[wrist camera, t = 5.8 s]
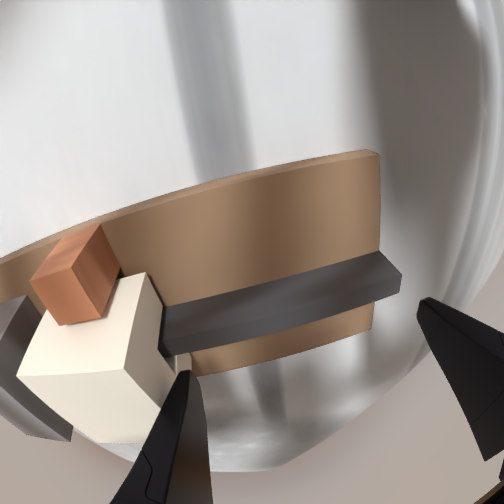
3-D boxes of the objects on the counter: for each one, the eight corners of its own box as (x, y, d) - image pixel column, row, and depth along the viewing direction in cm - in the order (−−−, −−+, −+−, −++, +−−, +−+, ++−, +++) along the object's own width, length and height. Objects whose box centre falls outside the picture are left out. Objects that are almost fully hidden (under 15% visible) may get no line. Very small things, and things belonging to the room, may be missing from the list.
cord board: (366, 149, 11) (473, 201, 5) (364, 317, 16) (410, 395, 11) (-27, 271, 10) (-75, 339, 5) (56, 379, 15) (39, 447, 10)
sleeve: (145, 272, 10) (123, 368, 6) (191, 357, 13) (194, 440, 9) (53, 296, 10) (15, 375, 6) (109, 369, 13) (97, 442, 9)
